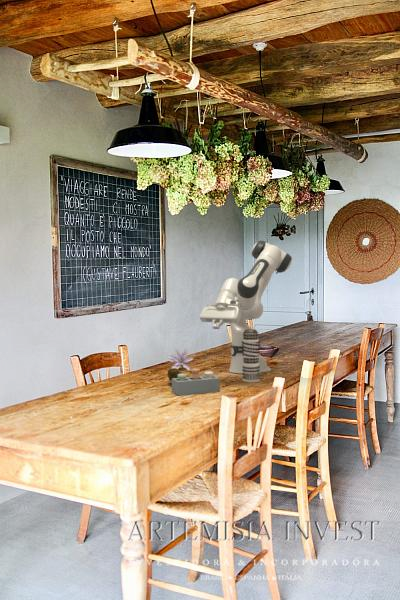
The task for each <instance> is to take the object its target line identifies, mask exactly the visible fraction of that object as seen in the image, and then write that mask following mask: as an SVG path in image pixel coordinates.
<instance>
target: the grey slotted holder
mask: <svg viewBox="0 0 400 600" xmlns="http://www.w3.org/2000/svg"><path fill="white" fill-rule="evenodd" d="M220 379H221V378H220V377H218V376H216V375H214V374H213V375H212V378H208V379H206V375H199V379H197V380H192V376H187V377H186V378H185V381H179V378H172V381H171V392H172V393H173V394H175V395H177V396H187V395H196V394H197V395H198V394H208V393H218V392H220V391H221V380H220Z"/></svg>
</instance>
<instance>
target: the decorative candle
mask: <svg viewBox="0 0 400 600" xmlns="http://www.w3.org/2000/svg"><path fill="white" fill-rule="evenodd" d="M242 343H243V345H242V347H243V348H242V350H243V352H242V354H243V355H242V357H243V361H244V362H243V368H244V369H243V371H244V372H243V373H242V382H247V383H256V382H259V381H260V380H261V379H260V378H261V376H260V375H261V373H259V371H260V369H258V368H260V366H259V357H260V356H259V355H258V354H260V353H261V351H260V350H261V348H260V346H261V344H260V343H261V341H260V339H259V332H258V330H256V329H253V328H251V329H247V330H245V331H244V332H243V341H242ZM258 347H259V348H258Z"/></svg>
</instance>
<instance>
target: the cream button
mask: <svg viewBox="0 0 400 600" xmlns="http://www.w3.org/2000/svg"><path fill="white" fill-rule="evenodd" d="M203 374H204V375H203V376H206V379H208V378H212V375H214V371H209V370H208V371H204V373H203Z"/></svg>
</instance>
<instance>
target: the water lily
mask: <svg viewBox="0 0 400 600" xmlns="http://www.w3.org/2000/svg"><path fill="white" fill-rule="evenodd" d="M187 355H188V349H184V351H182V353H181V354H180V352H179V350H178V349H176V348H175V349H174V355H173V354H171V355H168V358H169V359H168V361H169V362H170V363H175V364H173V365H172V366H171V368H176V369H178V370H179V368H184V369H186V371H187V370H188V371H191V368H190V365H188V364H187V363H189V362H191V361H193V360H194V358H193V357H187Z"/></svg>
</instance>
